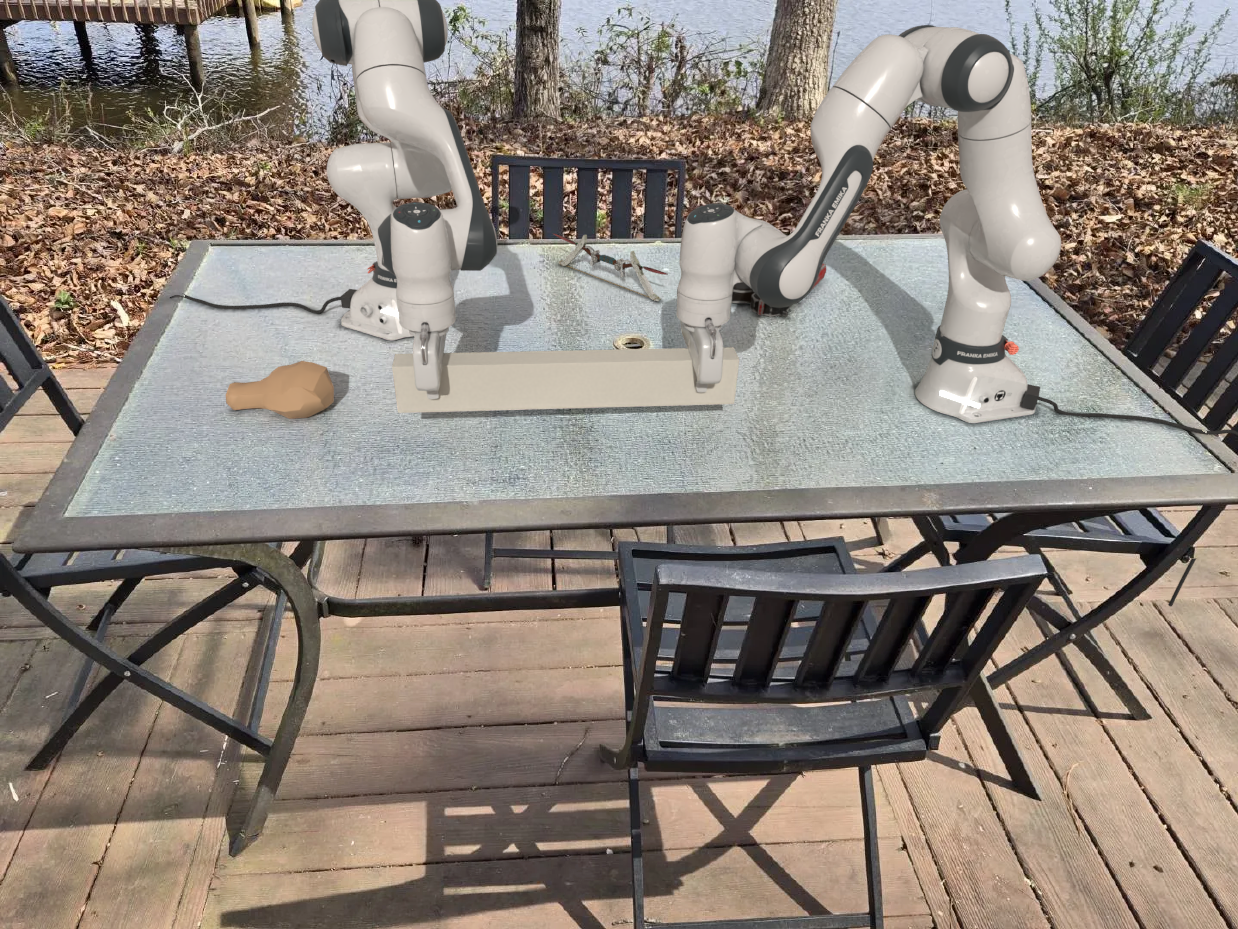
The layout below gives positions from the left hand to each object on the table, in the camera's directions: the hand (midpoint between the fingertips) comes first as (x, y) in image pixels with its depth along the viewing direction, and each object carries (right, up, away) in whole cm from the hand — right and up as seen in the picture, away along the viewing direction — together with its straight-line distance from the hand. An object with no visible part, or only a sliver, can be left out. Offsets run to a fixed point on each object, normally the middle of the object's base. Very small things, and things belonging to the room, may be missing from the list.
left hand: (434, 388), depth 146 cm
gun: (+68, +30, +71) cm, 103 cm away
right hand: (+44, +1, +5) cm, 45 cm away
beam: (+22, -2, +4) cm, 23 cm away
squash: (-32, -3, +17) cm, 36 cm away
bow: (+28, +33, +73) cm, 85 cm away
